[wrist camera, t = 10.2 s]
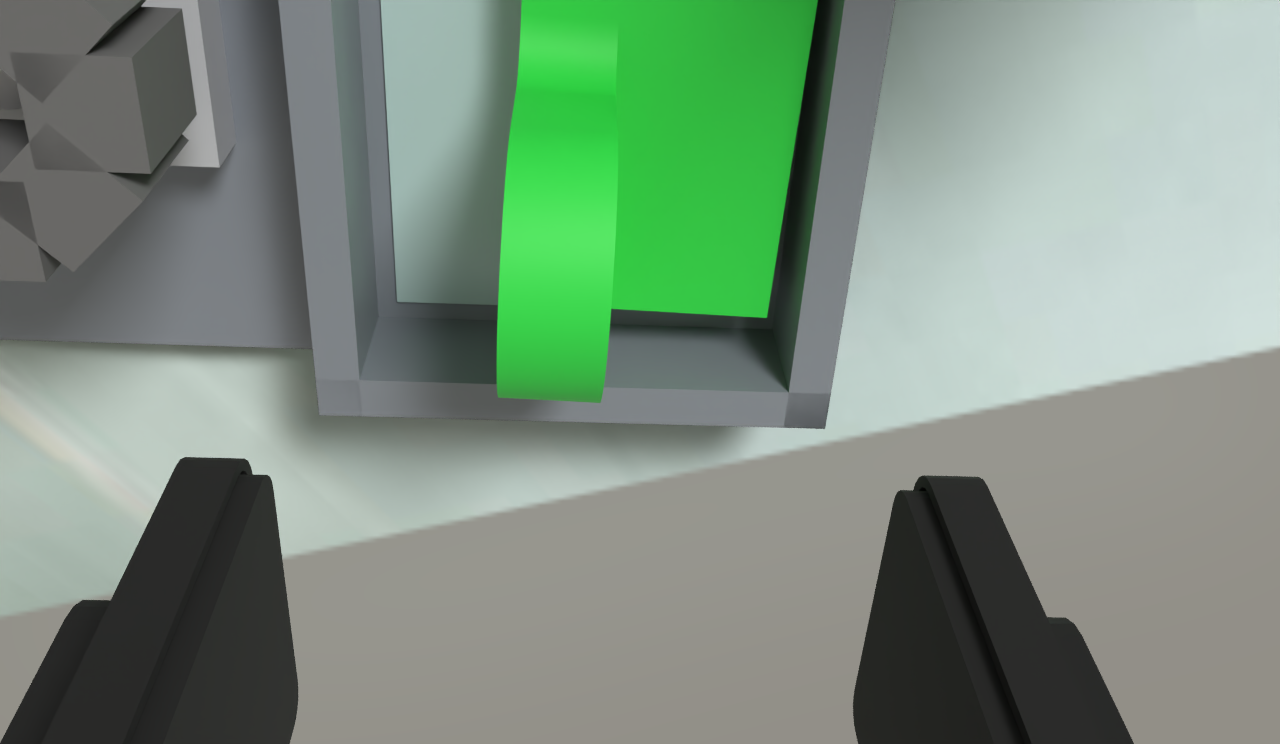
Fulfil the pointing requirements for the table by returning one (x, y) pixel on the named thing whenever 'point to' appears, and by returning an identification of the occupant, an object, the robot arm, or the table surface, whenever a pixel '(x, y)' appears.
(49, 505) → the table surface
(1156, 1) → the table surface
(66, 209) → the wheel
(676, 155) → the mechanical part
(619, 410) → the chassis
